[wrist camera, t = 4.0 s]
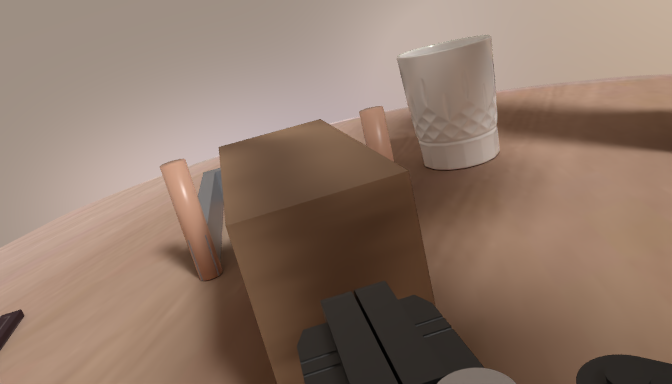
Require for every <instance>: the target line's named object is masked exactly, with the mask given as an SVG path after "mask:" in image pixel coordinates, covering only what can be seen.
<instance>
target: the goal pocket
mask: <svg viewBox="0 0 672 384" xmlns="http://www.w3.org/2000/svg"><path fill="white" fill-rule="evenodd" d="M359 113H360V118H361V122H362V127H363V132H364V136H365V141H366V145H367V147H369V148H371V149H372V150H374V151H376V152H378V153H379V154H381V155H383V156H384V157H386V158H388V159H390V160H391V161H393V162H394V158H393V153H392V148H391V143H390V139H389V134H388V129H387V124H386V119H385V114H384V109H383V107H382V106H376V107H371V108H367V109H364V110H361V111H360V112H359ZM160 169H161V172H162V175H163V177H164V180H165V183H166V186H167V189H168V191H169V194H170V197H171V200H172V203H173V206H174V208H175V211H176V214H177V217H178V220H179V222H180V225H181V228H182V231H183V234H184V236H185V239H186V242H187V245H188V248H189V250H190V253H191V256H192V259H193V262H194V265H195V267H196V270H197V273H198V276H199V279H200V280H202V281H205V280H210V279H213V278H216V277H217V276H220V274H221V273H222V272H223V270H222V267H221V264H220V259H221V242H222V224H223V206H224V201H223V189H222V178H221V168H218V169H214V170H211V171H207V172H203V177H202V181H201V185H200V189H199V194H198V196H197V193H196V190H195V187H194V184H193V181H192V178H191V175H190V172H189V169H188V166H187V163H186V160H185V159H179V160H174V161H170V162H168V163H165V164H163V165H161V166H160Z"/></svg>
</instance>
